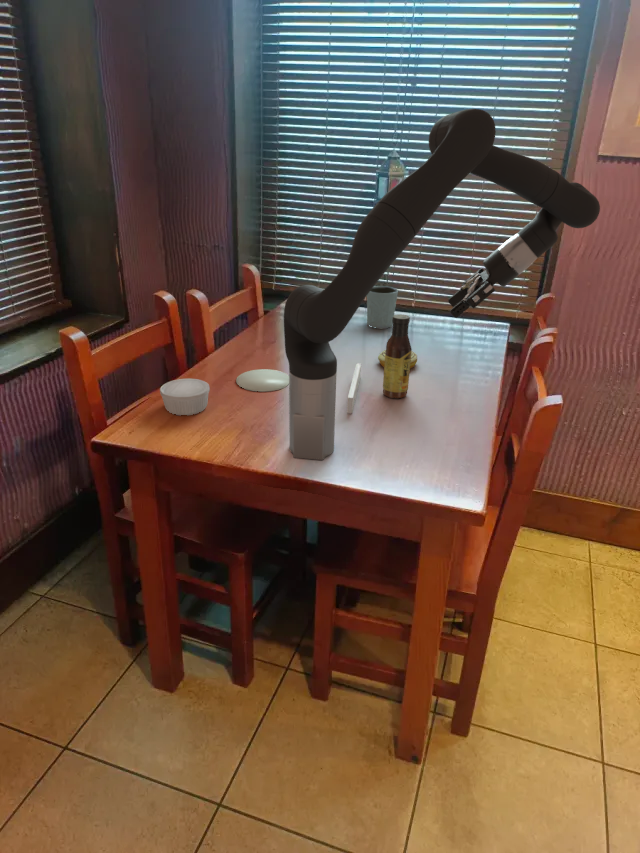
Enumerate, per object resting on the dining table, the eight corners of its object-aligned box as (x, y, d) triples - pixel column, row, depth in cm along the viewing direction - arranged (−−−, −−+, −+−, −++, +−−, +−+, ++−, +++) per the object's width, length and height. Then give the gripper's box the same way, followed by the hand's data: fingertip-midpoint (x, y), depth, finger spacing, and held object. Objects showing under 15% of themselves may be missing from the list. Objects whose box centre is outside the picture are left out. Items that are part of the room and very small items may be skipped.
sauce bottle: (406, 401, 146) (413, 322, 136) (380, 398, 147) (386, 319, 138) (408, 390, 151) (415, 314, 142) (383, 388, 152) (389, 312, 143)
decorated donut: (370, 363, 168) (371, 351, 166) (397, 355, 174) (398, 343, 172) (396, 375, 161) (397, 361, 159) (424, 366, 167) (425, 353, 165)
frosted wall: (352, 413, 139) (352, 397, 137) (347, 413, 139) (347, 397, 137) (360, 377, 158) (361, 363, 156) (355, 377, 158) (356, 363, 156)
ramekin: (159, 401, 143) (156, 381, 140) (205, 395, 146) (204, 375, 144) (165, 421, 133) (163, 399, 131) (215, 414, 137) (213, 393, 135)
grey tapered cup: (361, 327, 196) (363, 291, 191) (368, 319, 205) (370, 284, 199) (392, 331, 194) (395, 294, 188) (397, 322, 202) (400, 287, 197)
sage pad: (284, 393, 148) (284, 392, 148) (229, 389, 150) (229, 387, 149) (295, 372, 160) (295, 371, 160) (244, 368, 162) (244, 367, 162)
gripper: (495, 241, 136) (439, 289, 143) (503, 254, 124) (442, 306, 131) (515, 265, 138) (459, 311, 145) (525, 280, 126) (464, 330, 132)
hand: (451, 309), depth 138 cm, fingers open, 8 cm apart
